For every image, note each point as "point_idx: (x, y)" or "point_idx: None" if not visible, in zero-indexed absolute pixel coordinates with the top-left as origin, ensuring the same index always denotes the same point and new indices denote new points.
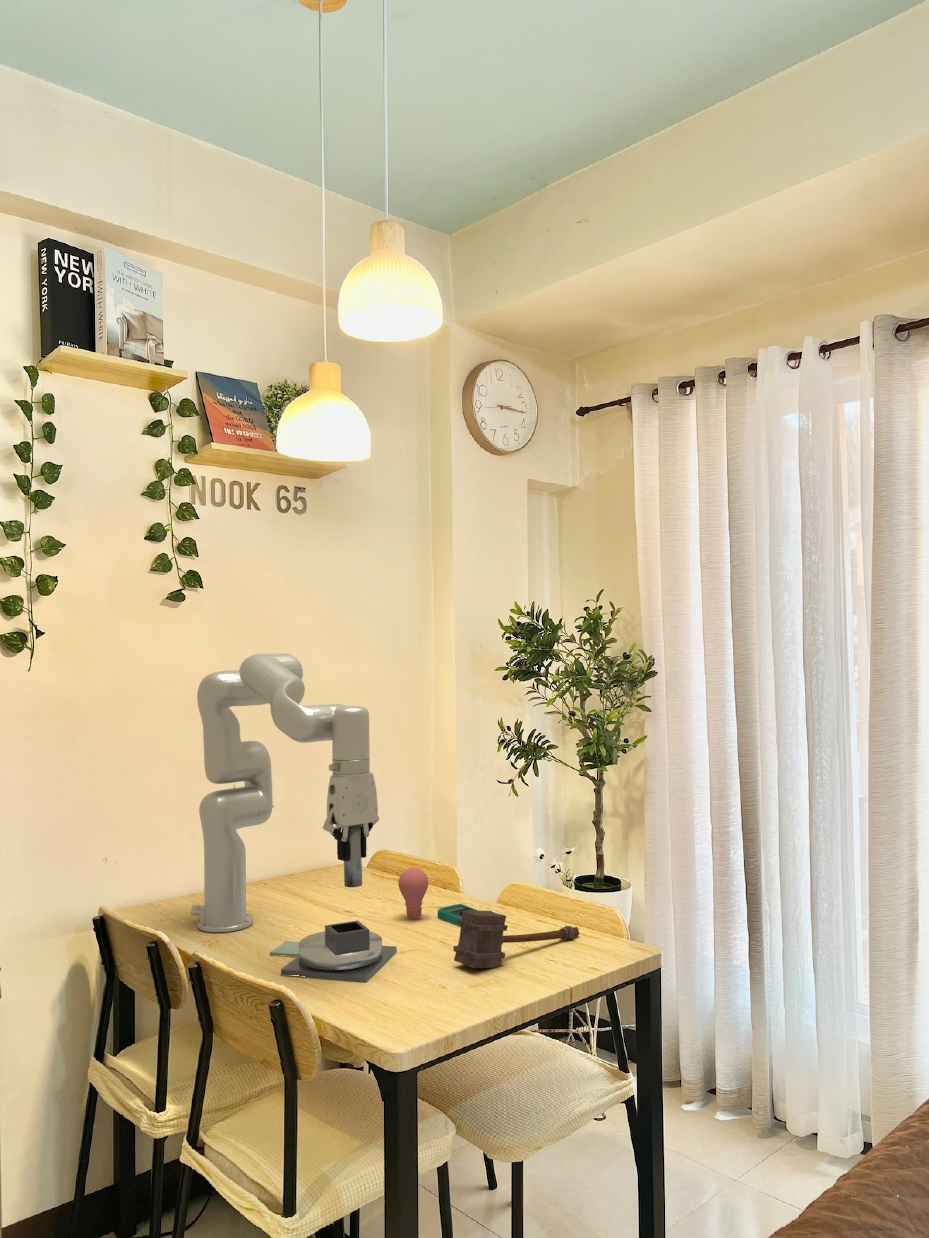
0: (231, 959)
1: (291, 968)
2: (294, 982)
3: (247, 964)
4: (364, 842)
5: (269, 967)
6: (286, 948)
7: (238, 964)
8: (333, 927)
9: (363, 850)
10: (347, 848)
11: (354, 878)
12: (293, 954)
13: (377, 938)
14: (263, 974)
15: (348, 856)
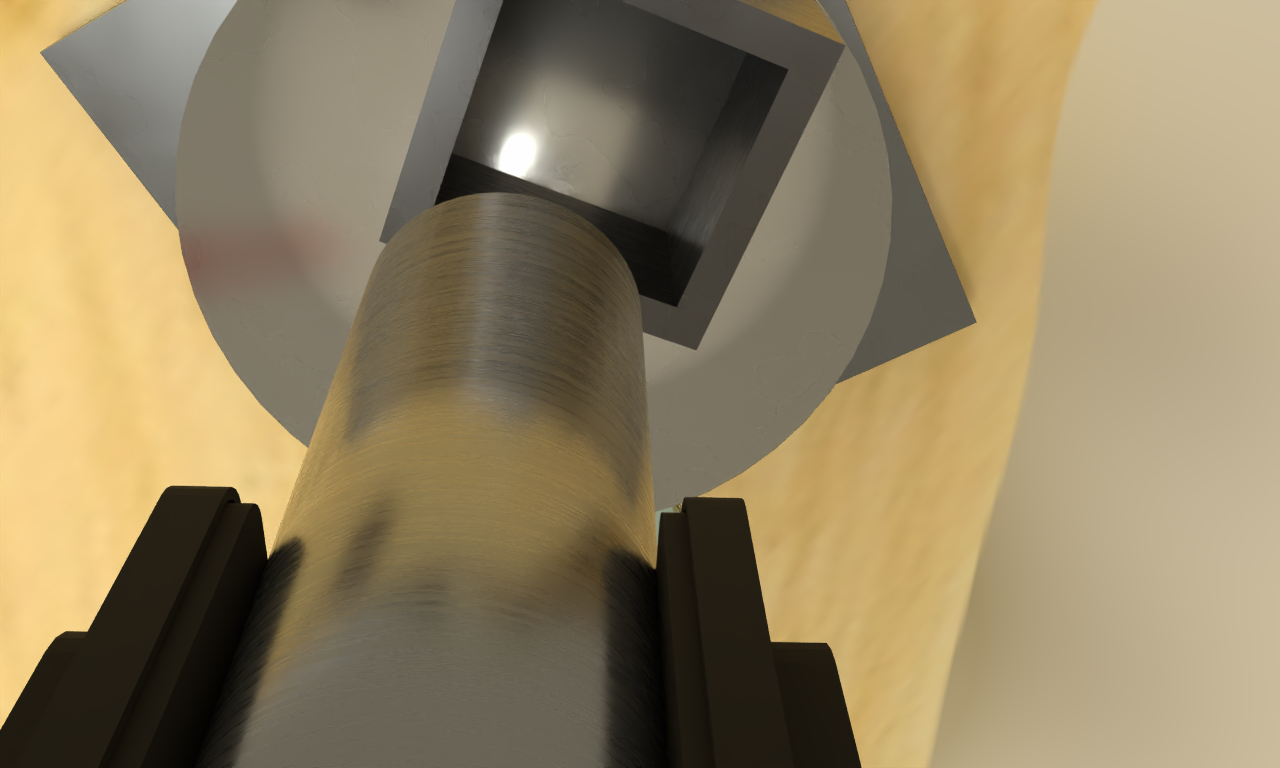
0: (924, 692)
1: (926, 281)
2: (1016, 130)
3: (933, 581)
4: (94, 755)
5: (897, 460)
6: None
7: (962, 613)
8: (643, 286)
9: (200, 600)
10: (770, 704)
11: (574, 272)
12: (674, 509)
13: (245, 71)
14: (1010, 393)
15: (717, 552)
